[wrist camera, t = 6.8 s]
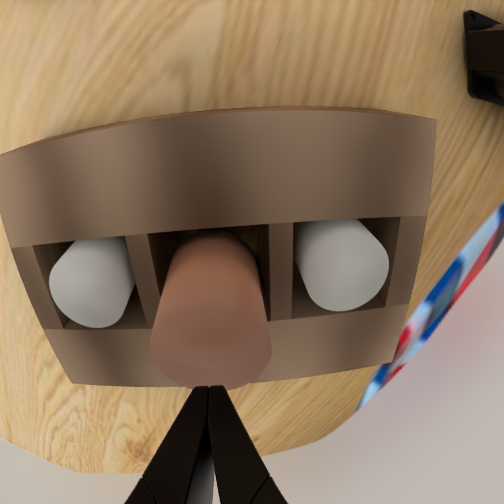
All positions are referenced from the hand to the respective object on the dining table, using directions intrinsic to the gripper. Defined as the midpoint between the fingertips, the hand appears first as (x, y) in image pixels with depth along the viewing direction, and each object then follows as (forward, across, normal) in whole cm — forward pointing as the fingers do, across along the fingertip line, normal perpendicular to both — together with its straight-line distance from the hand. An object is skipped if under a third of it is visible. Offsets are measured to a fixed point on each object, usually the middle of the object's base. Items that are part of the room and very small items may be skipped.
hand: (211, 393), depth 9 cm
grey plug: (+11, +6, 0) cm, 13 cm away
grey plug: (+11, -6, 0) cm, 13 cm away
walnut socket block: (+12, 0, 0) cm, 12 cm away
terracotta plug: (+7, 0, 0) cm, 7 cm away
